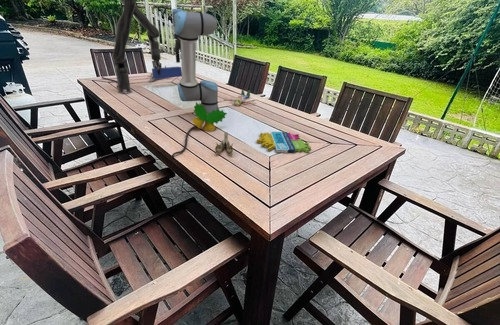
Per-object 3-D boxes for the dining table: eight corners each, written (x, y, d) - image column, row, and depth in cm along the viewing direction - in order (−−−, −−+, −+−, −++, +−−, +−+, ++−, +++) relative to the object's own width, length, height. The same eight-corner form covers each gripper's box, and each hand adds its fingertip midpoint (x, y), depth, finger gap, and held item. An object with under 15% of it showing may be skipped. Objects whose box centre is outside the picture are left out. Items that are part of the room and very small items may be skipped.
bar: (179, 75, 255) (178, 66, 251) (181, 76, 252) (181, 67, 248) (152, 78, 239) (151, 68, 235) (155, 79, 236) (154, 69, 232)
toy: (261, 91, 228) (254, 99, 202) (261, 99, 231) (253, 108, 205) (231, 87, 233) (220, 95, 207) (230, 95, 236) (219, 104, 210)
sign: (313, 150, 142) (258, 149, 139) (312, 153, 143) (258, 152, 140) (301, 132, 164) (254, 130, 161) (301, 134, 165) (254, 133, 162)
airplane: (141, 75, 284) (140, 65, 279) (171, 73, 297) (170, 64, 292) (147, 84, 255) (146, 73, 250) (179, 82, 269) (178, 72, 264)
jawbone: (234, 135, 144) (233, 125, 135) (233, 160, 138) (232, 151, 129) (217, 135, 144) (216, 125, 135) (216, 160, 138) (214, 150, 129)
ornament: (218, 133, 171) (224, 110, 169) (221, 134, 163) (227, 111, 161) (186, 125, 162) (192, 101, 160) (189, 126, 155) (195, 101, 153)
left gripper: (148, 53, 232) (150, 72, 240) (155, 55, 223) (157, 75, 231) (156, 52, 236) (158, 72, 245) (163, 54, 227) (165, 74, 236)
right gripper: (168, 31, 198) (171, 61, 208) (179, 34, 179) (181, 67, 190) (178, 32, 201) (180, 61, 212) (189, 34, 183) (191, 66, 193)
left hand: (157, 73), depth 238 cm, fingers closed on bar, 5 cm apart
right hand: (180, 64), depth 201 cm, fingers open, 13 cm apart
